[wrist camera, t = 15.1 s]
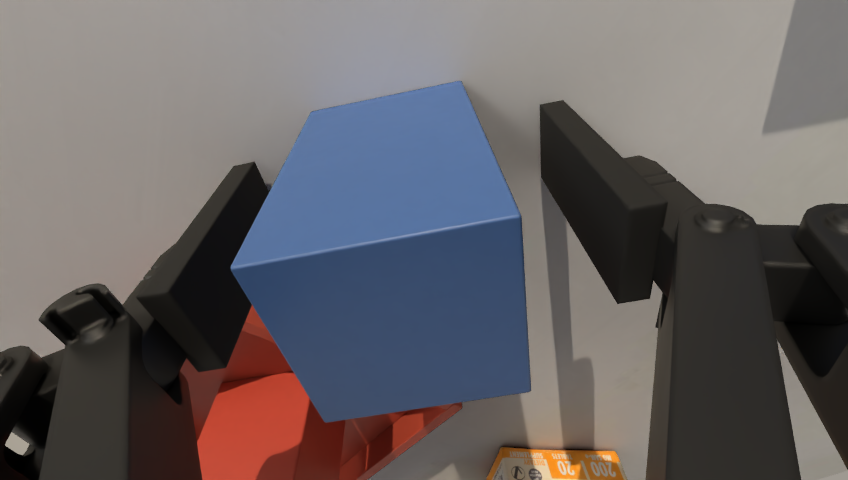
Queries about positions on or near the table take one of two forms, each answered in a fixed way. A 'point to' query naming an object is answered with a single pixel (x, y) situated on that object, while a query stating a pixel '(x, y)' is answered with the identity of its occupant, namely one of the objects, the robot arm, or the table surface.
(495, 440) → the table surface
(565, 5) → the table surface
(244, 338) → the red tray
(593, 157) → the robot arm
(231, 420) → the red block
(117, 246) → the table surface
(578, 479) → the supplement box
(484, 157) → the blue block
